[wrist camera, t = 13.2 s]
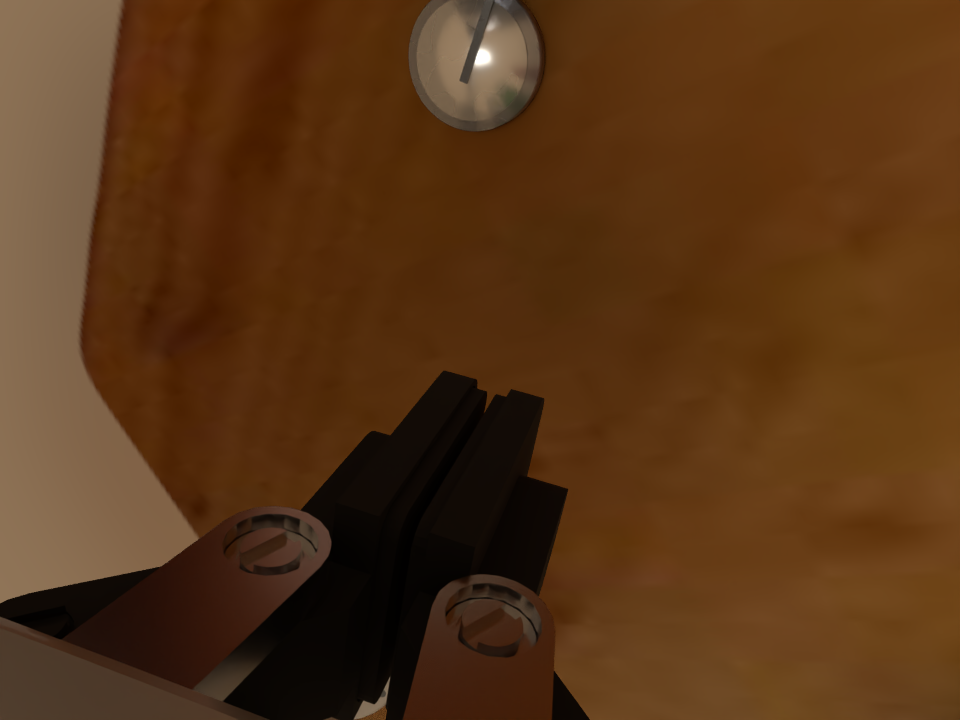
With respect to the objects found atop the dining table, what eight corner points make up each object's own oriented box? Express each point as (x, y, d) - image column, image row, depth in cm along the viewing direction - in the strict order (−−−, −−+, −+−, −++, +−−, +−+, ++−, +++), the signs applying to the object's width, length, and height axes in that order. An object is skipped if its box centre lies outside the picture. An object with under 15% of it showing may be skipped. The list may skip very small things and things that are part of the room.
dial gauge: (465, 152, 29) (454, 158, 28) (394, 39, 28) (379, 41, 27) (570, 78, 27) (563, 81, 26) (497, -47, 26) (486, -50, 25)
